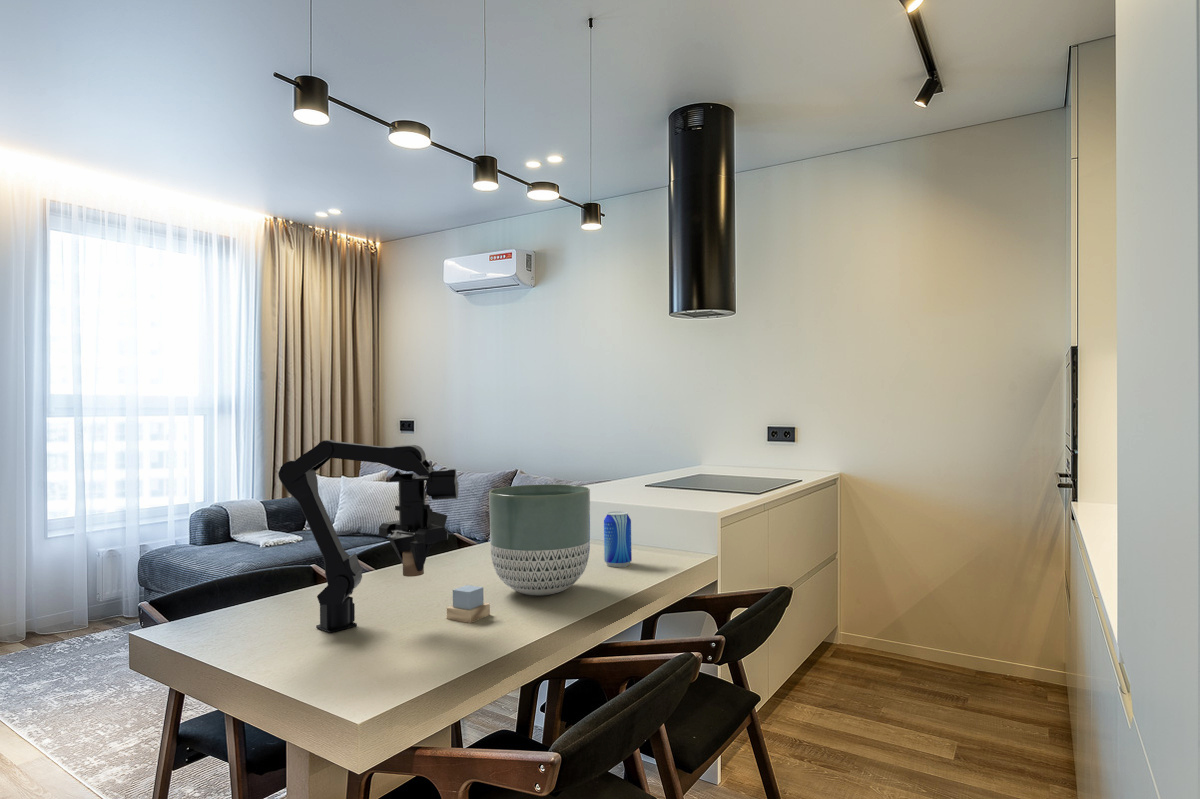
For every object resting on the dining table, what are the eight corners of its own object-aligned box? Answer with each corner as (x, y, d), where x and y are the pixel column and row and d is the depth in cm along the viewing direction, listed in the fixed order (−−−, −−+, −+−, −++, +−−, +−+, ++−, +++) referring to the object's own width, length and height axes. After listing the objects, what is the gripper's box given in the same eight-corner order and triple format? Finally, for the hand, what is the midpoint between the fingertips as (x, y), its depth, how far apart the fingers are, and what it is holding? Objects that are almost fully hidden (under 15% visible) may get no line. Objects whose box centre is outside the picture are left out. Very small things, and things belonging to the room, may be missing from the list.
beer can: (601, 563, 214) (600, 511, 214) (626, 560, 216) (625, 510, 217) (609, 568, 206) (608, 515, 206) (635, 566, 208) (634, 513, 209)
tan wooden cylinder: (410, 577, 151) (410, 555, 152) (398, 574, 154) (398, 552, 155) (428, 573, 155) (427, 551, 155) (415, 570, 158) (415, 549, 158)
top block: (469, 609, 156) (469, 592, 156) (452, 607, 158) (452, 589, 159) (483, 604, 160) (483, 587, 160) (467, 601, 163) (466, 585, 163)
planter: (607, 584, 187) (606, 486, 188) (561, 610, 163) (560, 497, 164) (524, 576, 198) (522, 483, 199) (469, 599, 174) (468, 493, 175)
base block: (470, 624, 155) (470, 611, 155) (446, 620, 158) (446, 607, 158) (489, 616, 161) (489, 603, 161) (466, 612, 164) (466, 600, 164)
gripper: (466, 499, 155) (467, 567, 155) (417, 494, 167) (418, 558, 167) (425, 505, 147) (426, 577, 146) (376, 499, 159) (378, 567, 158)
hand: (413, 569), depth 155 cm, fingers closed on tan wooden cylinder, 5 cm apart
